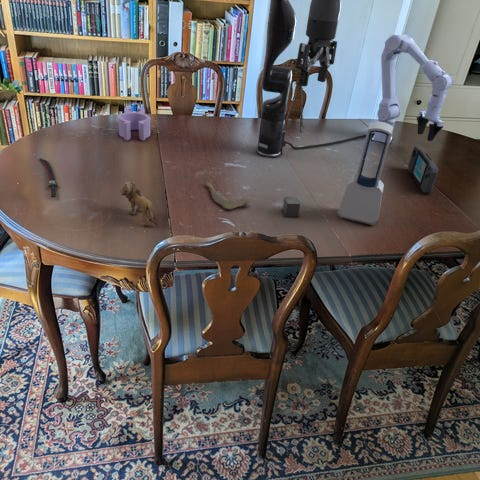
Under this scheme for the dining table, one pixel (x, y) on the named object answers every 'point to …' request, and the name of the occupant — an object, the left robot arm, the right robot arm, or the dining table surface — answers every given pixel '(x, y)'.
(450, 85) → the right robot arm
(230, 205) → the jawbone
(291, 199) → the gray block
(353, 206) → the electronic device
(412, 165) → the handheld gaming console
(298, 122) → the dark upright piece
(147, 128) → the clip
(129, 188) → the lion figurine
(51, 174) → the sword
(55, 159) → the dining table surface
